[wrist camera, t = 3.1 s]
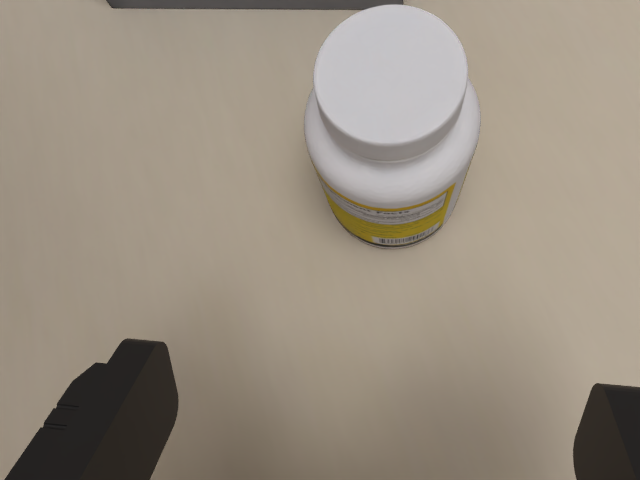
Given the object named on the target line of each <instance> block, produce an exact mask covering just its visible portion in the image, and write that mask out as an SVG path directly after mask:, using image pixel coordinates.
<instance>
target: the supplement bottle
mask: <svg viewBox="0 0 640 480" xmlns="http://www.w3.org/2000/svg"><path fill="white" fill-rule="evenodd" d="M313 86H314V87H313V89H312V91H311V93H310V95H309V99H308V102H307V105H306V110H305V116H304V133H305V140H306V144H307V148H308V152H309V155H310V158H311V160H312V163H313V165H314V167H315V170H316V172H317V175H318V177H319V180H320V182H321V185H322V187H323V190H324V192H325V195H326V197H327V199H328V202H329V204H330V206H331V209H332V211H333V213H334V214H335V216H336V218H337V219H338V221H339V222H340V223H341V225H342V226H343V227H344V228H345V229H346V230H347V231H348V232H349V233H350V234H351V235H353V236H354V237H356V238H357V239H359V240H361V241H363V242H365V243H367V244H369V245H372V246H376V247H380V248H388V249H397V248H405V247H409V246H412V245H415V244H418V243H420V242H423V241H425V240H426V239H428V238H429V237H431V236H432V235H434V234H435V233H436V232H437V231H438V230H439V229H440V228H441V227H442V226H443V225H444V224H445V223H446V221H447V220H448V218H449V217H450V215H451V213H452V211H453V209H454V207H455V204H456V202H457V200H458V197H459V194H460V191H461V189H462V186H463V183H464V180H465V178H466V175H467V172H468V169H469V166H470V163H471V160H472V158H473V155H474V152H475V149H476V146H477V142H478V138H479V133H480V124H481V115H480V106H479V101H478V97H477V94H476V91H475V89H474V87H473V85H472V83H471V81H470V79H469V78H468V64H467V58H466V55H465V51H464V49H463V46H462V44H461V42H460V40H459V38H458V37H457V35H456V34H455V33H454V32H453V30H452V29H451V28H450V27H449V26H448V25H447V24H446V23H445V22H443V21H442V20H441V19H440V18H438V17H437V16H435V15H433V14H431V13H429V12H427V11H425V10H423V9H420V8H416V7H413V6H408V5H397V4H395V5H382V6H376V7H372V8H368V9H365V10H362V11H360V12H358V13H356V14H354V15H352V16H351V17H349V18H347V19H346V20H344V21H343V22H342V23H341V24H339V25H338V26H337V27H336V28H335V29H334V30H333V31H332V32H331V33H330V34H329V36H328V37H327V38H326V40H325V41H324V43H323V44H322V46H321V48H320V50H319V52H318V55H317V58H316V61H315V65H314V72H313Z"/></svg>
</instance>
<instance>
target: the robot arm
mask: <svg viewBox="0 0 640 480" xmlns="http://www.w3.org/2000/svg"><path fill="white" fill-rule="evenodd" d="M177 411H178V392H177V388H176V383H175V379H174V374H173V370H172V365H171V361H170V356H169V352H168V348H167V346H166V344H165V343H164V342H159V341H149V340H138V339H125V340H123V341H122V342H121V343H120V345H119V346H118V347H117V349H116V351H115V352H114V354H113V355H112V357H111V358H110V360H109V361H108V363H107V364H105V363H95V364H94V365H92V366H91V367H90V368H89V369H87V370H86V371H85V372H84V373H82V374H81V375H80V376H78V377H77V378H76V379H75V380H73V381H72V383H71V384H70V386H69V387H68V388H67V390H66V391H65V393H64V394H63V396H62V397H61V399H60V400H59V402H58V403H57V407H56V409H55V408H54V409H53V410H52V412H51V413H50V415H49V416H48V417H47V419H46V420H45V422H44V426H43V428H40V429H39V430H38V432H37V433H36V435H35V436H34V438H33V439H32V441H31V442H30V443H29V445H28V446H27V448H26V449H25V451H24V452H23V454H22V455H21V457H20V458H19V459H18V461H17V462H16V464H15V465H14V467H13V468H12V470H11V471H10V472H9V474H8V475H7V477H6V478H5V480H150V478H151V475H152V473H153V471H154V469H155V466H156V464H157V462H158V460H159V458H160V455H161V453H162V451H163V449H164V446H165V444H166V442H167V440H168V438H169V435H170V433H171V431H172V429H173V426H174V424H175V420H176V417H177ZM573 461H574V470H575V475H576V479H577V480H640V387H632V386H621V385H610V384H599V383H597V384H595V385H594V386H593V387H592V390H591V392H590V395H589V398H588V401H587V404H586V407H585V410H584V413H583V416H582V419H581V422H580V425H579V427H578V430H577V433H576V436H575V440H574V447H573Z"/></svg>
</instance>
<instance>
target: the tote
mask: <svg viewBox="0 0 640 480" xmlns="http://www.w3.org/2000/svg"><path fill="white" fill-rule="evenodd" d="M107 2H108V3H109V4H110V6H111V7H112V8H220V9H368V8H372V7H376V6H382V5H395V4H397V5H403V0H107Z"/></svg>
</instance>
